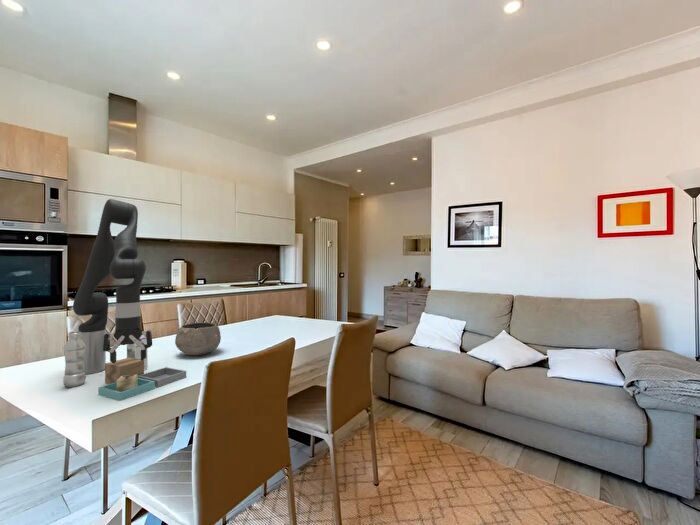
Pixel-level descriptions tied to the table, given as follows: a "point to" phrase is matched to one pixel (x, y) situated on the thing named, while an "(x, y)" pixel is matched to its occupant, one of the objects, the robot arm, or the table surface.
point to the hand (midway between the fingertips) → (128, 361)
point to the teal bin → (112, 392)
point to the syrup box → (137, 351)
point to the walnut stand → (123, 369)
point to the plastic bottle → (74, 360)
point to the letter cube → (127, 382)
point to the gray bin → (164, 376)
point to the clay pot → (198, 338)
